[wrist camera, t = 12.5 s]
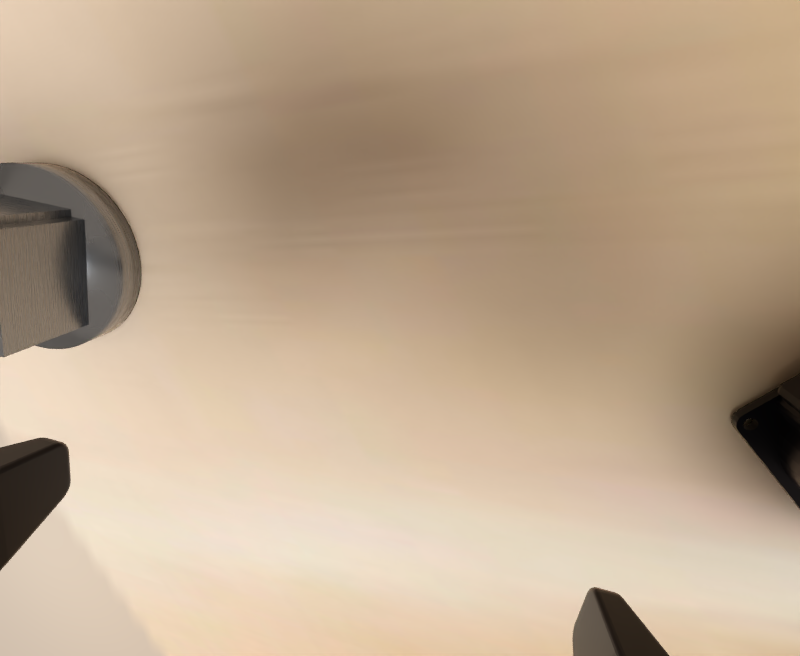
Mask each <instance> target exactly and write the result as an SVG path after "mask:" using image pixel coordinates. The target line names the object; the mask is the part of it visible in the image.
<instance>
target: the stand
mask: <svg viewBox="0 0 800 656" xmlns="http://www.w3.org/2000/svg"><path fill="white" fill-rule="evenodd" d="M140 280H141V267H140V259H139V253H138V249H137V245H136V242H135V239H134V236H133V234H132V231H131V229H130V227H129V225H128V223H127V221H126V219H125V218H124V216H123V214H122V213H121V211H120V210H119V209H118V207H117V206H116V204H115V203H114V202H113V201H112V200H111V199H110V197H109V196H108V195H107V194H106V193H105V192H104V191H103V190H102V189H101V188H100V187H98V186H97V185H96V184H95V183H93V182H92V181H91V180H89V179H88V178H86V177H84V176H83V175H81V174H79V173H78V172H75V171H73V170H71V169H68V168H66V167H62V166H58V165H54V164H46V163H1V164H0V357H6V356H8V355H11V354H14V353H16V352H19V351H21V350H24V349H27V348H29V347H32V346H34V345H35V346H38V347H43V348H49V349H65V348H71V347H75V346H78V345H81V344H83V343H85V342H88V341H90V340H92V339H95V338H97V337H99V336H102V335H104V334H106V333H109V332H111V331H112V330H114V329H115V328H117V327H118V326H119V325H120V324H122V323H123V322H124V321H125V319H126V318H127V317H128V316H129V314H130V313H131V311H132V309H133V307H134V305H135V303H136V300H137V297H138V294H139V288H140Z"/></svg>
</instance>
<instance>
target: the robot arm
mask: <svg viewBox="0 0 800 656" xmlns="http://www.w3.org/2000/svg"><path fill="white" fill-rule="evenodd" d="M750 418H752V419H753V421H752V422H751V423H750V424H749V425H743V424H744V422H745V421H746V420H747V419H750ZM732 424H733V426H734V428H735V429H736V430H737V431H738V433H739V434H740V435H741V436H742V438H743V439H744V440H745V441H746V443H747V444H748V445H749V446H750V448H751V449H752V450H753V451H754V453H755V454H756V455H757V456H758V458H759V459H760V460H761V461H762V463H763V464H764V465H765V466H766V468H767V469H768V470H769V471H770V473H771V474H772V475H773V476H774V478H775V479H776V480H777V481H778V483H779V484H780V485H781V486H782V488H783V489H784V490H785V491H786V493H787V494H788V495H789V496H790V498H791V499H792V500H793V501H794V503H795V504H796V505H797V506H798V508H799V509H800V374H799V375H797V376H795V377H793V378H792V379H790V380H788V381H786V382H785V383H783V384H781V386H780V387H779V388H777V389H775V390H773V391H771V392H770V393H768V394H766V395H764V396H763V397H761V398H759V399H757V400H755V401H754V402H752V403H750V404H748V405H747V406H745V407H743V408H741V409H739V410H738V411H737V412H735V413H734V415H733V416H732ZM70 481H71V479H70V463H69V450H68V447H67V446H66V444H64V443H62V442H59V441H56V440H52V439H48V438H37V439H33V440H29V441H25V442H21V443H17V444H13V445H9V446H5V447H1V448H0V570H1V569H2V568H3V567H4V566H5V565H6V564H7V563H8V561H9V560H10V559H11V558H12V557H13V556H14V554H15V553H16V552H17V551H18V550H19V549H20V548H21V546H22V545H23V544H24V543H25V542H26V541H27V539H28V538H29V537H30V536H31V535H32V533H33V532H34V531H35V530H36V529H37V528H38V527H39V526H40V524H41V523H42V522H43V521H44V520H45V519H46V517H47V516H48V515H49V514H50V513H51V512H52V510H53V509H54V508H55V507H56V506H57V505H58V503H59V502H60V501H61V500H62V499H63V498H64V496H65V495H66V493H67V491H68V489H69V487H70ZM573 656H669V655H668V653H667V652H666V651H665V650H664V649H663V647H662V646H661V645H660V644H659V642H658V641H657V640H656V639H655V637H654V636H653V635H652V634H651V632H650V631H649V630H648V629H647V627H646V626H645V625H644V624H643V622H642V621H641V620H640V619H639V617H638V616H637V615H636V614H635V613H634V611H633V610H632V609H631V608H630V606H629V605H628V604H627V603H626V601H625V600H624V599H623V598H622V597H621V596H620V595H619V594H617V593H615V592H611V591H608V590H604V589H600V588H597V587H594V588H591V589H590V590H589V591H588V593H587V595H586V597H585V600H584V602H583V605H582V607H581V610H580V612H579V615H578V617H577V620H576V622H575V625H574V630H573Z"/></svg>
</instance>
